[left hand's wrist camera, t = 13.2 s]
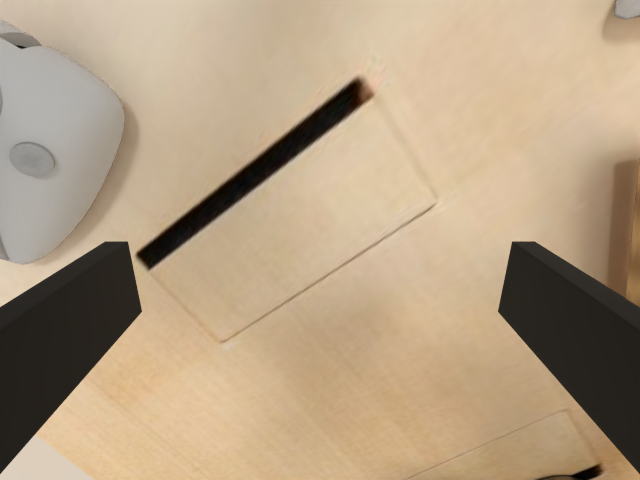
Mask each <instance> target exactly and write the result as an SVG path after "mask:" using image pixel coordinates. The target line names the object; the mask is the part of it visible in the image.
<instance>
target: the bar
mask: <svg viewBox="0 0 640 480" xmlns="http://www.w3.org/2000/svg"><path fill="white" fill-rule="evenodd" d="M626 299H627V300H629V301H631V302H632V303H634V304H635V305H637V306H639V307H640V161H639V171H638V181H637V190H636V200H635V210H634V220H633V230H632V240H631V250H630V260H629V269H628V279H627V289H626Z"/></svg>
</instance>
